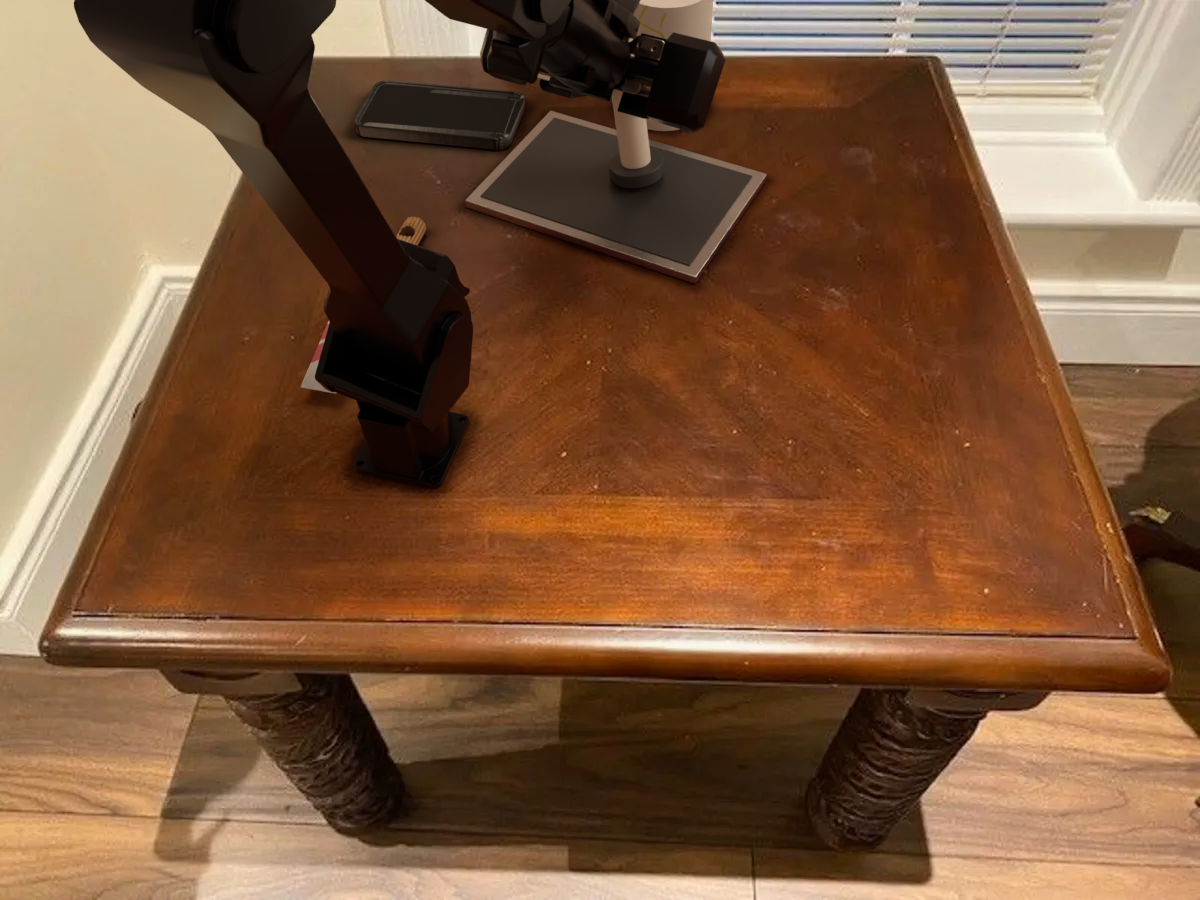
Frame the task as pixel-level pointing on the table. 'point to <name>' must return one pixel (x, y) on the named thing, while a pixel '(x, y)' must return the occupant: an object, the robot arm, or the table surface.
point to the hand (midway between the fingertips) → (634, 89)
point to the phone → (441, 114)
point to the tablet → (618, 197)
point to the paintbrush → (409, 233)
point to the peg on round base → (633, 151)
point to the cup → (674, 26)
